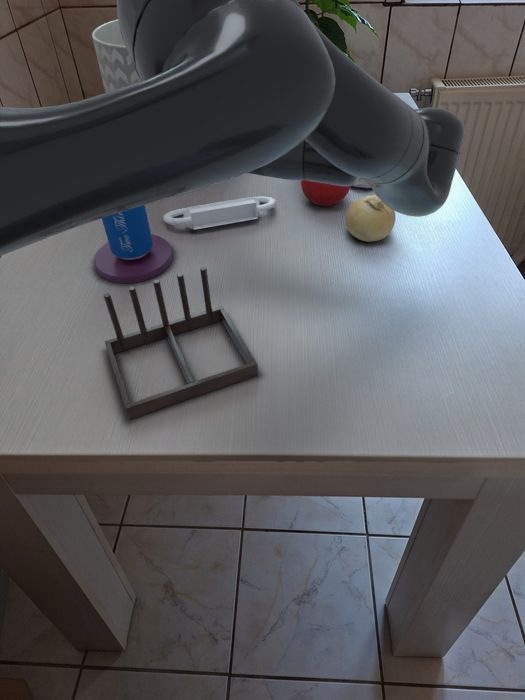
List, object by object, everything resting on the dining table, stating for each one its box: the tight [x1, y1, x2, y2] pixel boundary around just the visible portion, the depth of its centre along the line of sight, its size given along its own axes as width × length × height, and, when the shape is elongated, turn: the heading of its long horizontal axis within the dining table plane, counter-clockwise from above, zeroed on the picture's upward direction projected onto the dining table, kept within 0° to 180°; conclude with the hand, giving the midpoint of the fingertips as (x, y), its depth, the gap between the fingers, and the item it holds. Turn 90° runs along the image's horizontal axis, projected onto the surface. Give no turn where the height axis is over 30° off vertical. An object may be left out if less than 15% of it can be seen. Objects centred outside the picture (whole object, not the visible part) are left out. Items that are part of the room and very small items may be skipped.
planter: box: [91, 18, 141, 93], centre depth 96 cm, size 25×25×24 cm
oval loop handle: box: [162, 195, 277, 230], centre depth 87 cm, size 20×8×4 cm, turn 106°
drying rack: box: [103, 266, 259, 420], centre depth 59 cm, size 16×12×9 cm
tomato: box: [300, 180, 352, 207], centre depth 88 cm, size 9×9×8 cm
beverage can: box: [101, 205, 153, 260], centre depth 73 cm, size 6×6×12 cm
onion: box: [344, 194, 396, 243], centre depth 80 cm, size 8×8×7 cm
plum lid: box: [93, 233, 173, 284], centre depth 78 cm, size 12×12×2 cm
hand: (152, 124), depth 61 cm, fingers open, 8 cm apart
